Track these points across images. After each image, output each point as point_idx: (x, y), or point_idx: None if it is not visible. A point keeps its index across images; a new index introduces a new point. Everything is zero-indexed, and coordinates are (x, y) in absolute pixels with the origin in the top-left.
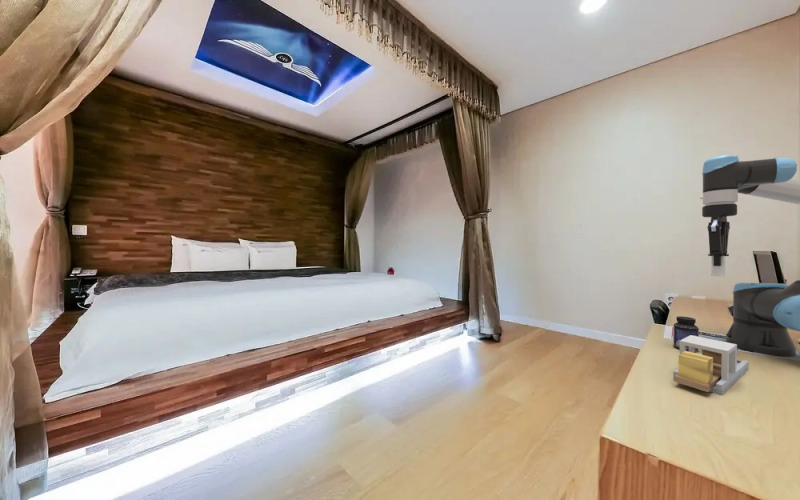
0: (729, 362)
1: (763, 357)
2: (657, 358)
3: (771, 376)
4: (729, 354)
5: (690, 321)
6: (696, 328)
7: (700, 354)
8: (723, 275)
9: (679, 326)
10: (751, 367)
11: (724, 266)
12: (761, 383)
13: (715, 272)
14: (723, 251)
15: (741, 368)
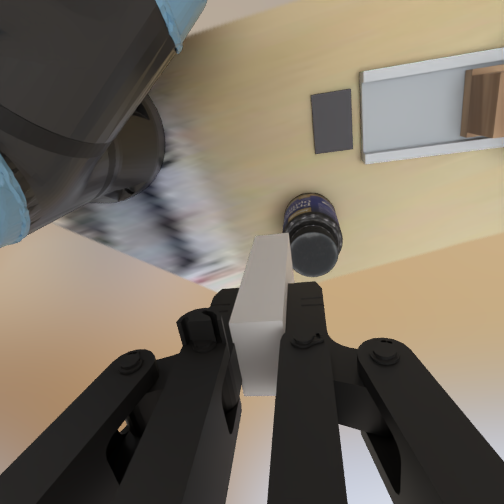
0: (479, 74)
1: (192, 96)
2: (476, 214)
3: (369, 21)
4: (496, 72)
5: (330, 235)
6: (318, 215)
7: (412, 157)
8: (287, 236)
9: (340, 249)
10: (329, 76)
11: (263, 267)
12: (465, 10)
13: (292, 281)
14: (223, 376)
15: (455, 55)
